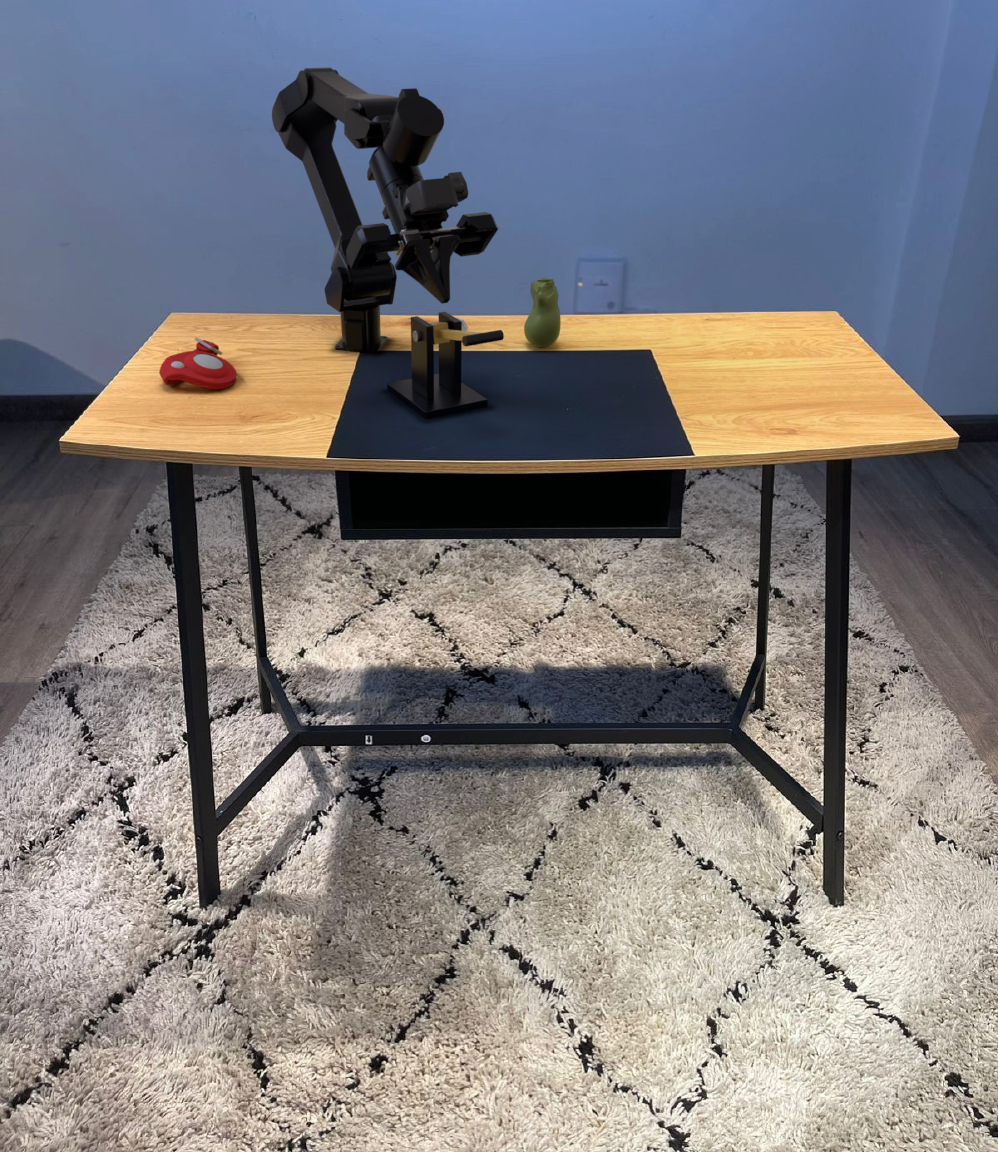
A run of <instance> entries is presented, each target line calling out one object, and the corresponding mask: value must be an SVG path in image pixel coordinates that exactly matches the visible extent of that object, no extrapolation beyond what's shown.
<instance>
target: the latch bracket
mask: <svg viewBox="0 0 998 1152" xmlns="http://www.w3.org/2000/svg"><path fill="white" fill-rule="evenodd" d="M457 318H458V317H455V316H454V315H451V314H450V313H448V312H447V311H441V312H438V322H446V323H448V329H450V330H460V331H462V321H460V320H459V319H457ZM429 323H430V322H428V321H426V320H424V319H423V318H421V317H420V316H418V315H415V316H410V352H411V353H410V355H411V359H410V361H411V378H407V379H402V380H398V381H392V382H387V383H386V388H387V389H386V390H387V392H389V393H390V394H392V395H393V396H394V397H395V398H397V400H400V401H401V402H402V403H403V404H404V405H406V406H407V407H409V408H410V409H411V410H412V411H414V412H415V413H416V414H418V415H419V416H420V417H421V418H423V419H425V420H429V419H435V418H439V417H444V416H449V415H453V414H458V413H463V412H468V411H472V410H478V409H482V408H487V407H488V398H486V397H485V396H483V395H482V394H480V393H478V391H476V390H474V389H473V388H471V387H470V386H468V385H466V384H465V383H463V382H462V353H463V351H462V347H463V343H462V341H458V340H450V342H446V343H440V344H438V373H435V358H434V357H435V354H434V351H435V349H434V346H435V344H434V331H433V325H431V324H429Z"/></svg>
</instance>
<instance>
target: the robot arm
mask: <svg viewBox="0 0 998 1152" xmlns="http://www.w3.org/2000/svg"><path fill="white" fill-rule="evenodd" d="M271 120H272V125H273V128H274V131H275V132H276V133H278V135H279V138H280V140H281V143H282V144H283V146H284V148H285V150H287V151H288V152H289V153H291V154H292V155H293V156H295V157H296V158H297V159H298V160H299V161H301V162H302V164H303V168H304V170H305V173H306V175H307V178H308V180H309V184H310V186H311V188H312V191H313V194H314V196H315V199H316V201H317V204H318V207H319V210H320V212H321V215H322V217H323V220H324V223H325V226H326V228H327V231H328V233H329V236H330V238H331V241H332V244H333V248H334V252H333V257H332V260H331V264H330V271H331V274H330V276H329V278H328V280H327V282H326V285H325V286H324V295H325V300H326V304H327V305H328V306H329V307H331V308H332V309H334V310H335V311H337V312H338V313H339V315H340V329H341V339H340V340H339V341H338V342H337V343H336V344H335V346H334V350H335V351H341V352H352V353H353V352H354V353H355V352H356V353H364V354H365V353H366V354H378V353H379V352H380V351H381V350H382V349H383V347H384V346H385V344H386V343H387V341H389V337H388V336H386V335H382V332H381V331H382V330H381V308H380V307H381V306H386V305H389V306H390V305H393V304H394V299H395V292H396V286H397V285H396V284H397V279H398V276H397V271H402V272H404V274H406V275H408V276H409V277H411V279H413V280H415V281H416V282H417V283H419V284H420V285H421V286H422V287H423V288H424V289H425V291H427V292H429V293H430V294H431V296H432V297H434V298H435V299H436V300H437V301H438V302H439V303H441V304H447V303H449V301H451V275H450V274H451V272H450V271H451V270H450V269H451V268H450V267H451V257H452V255H453V254H456V255H458V256H459V257H470V256H476V255H477V256H478V255H480V254H482V253H484V252H485V251H486V249H487V247H488V246H489V244H490V242H491V241H492V239H493V238H494V237H495V235H496V234H497V232H498V230H499V227H498V224H497V221H496V219H495V218H494V216H493V215H492V213H490V212H487V211H484V212H482V211H481V212H472V213H465V214H462V215H461V217H460V219H459V220H458V222H457V223H456V226H449V227H443V225H442V223H444V222H447V220H448V219H449V217H450V216H449V215H450V214H449V212H448V210H450V209H452V208H457V207H458V206H459V203H461V202H463V201H465V200H466V199H468V197H469V188H468V184H467V181H466V179H465V177H464V175H463V173H462V171H453V172H449V173H448V174H446V175H444V176H443V177H441V178H440V177H439V178H428V179H424V177H423V174H422V171H421V168H420V165H422V164H424V163H426V161H427V160H428V158H429V157H430V154H431V153H432V151H433V149H434V147H435V144H436V142H437V140H438V139H439V136H440V134H441V133H442V131H443V128H444V125H445V117H444V114H443V111H442V110H441V108H439V107H438V106H437V105H436V104H435V103H434V102H433V101H432V100H430V99H429V98H427V97H425V96H422V95H420V93H419V91H418V88H417V87H413V88H401V89H400V91H399V93H398V96H394V95H389V94H375V93H369V92H368V91H365V90H363V89H362V88H361V87H359V86H357V85H356V84H354V83H353V82H352V81H350V80H348V79H347V78H345V77H343V76H342V75H340V73H339V72H338V70H337V69H335V68H332V67H329V66H328V67H304V69H303V70H300V71H299V72H298V74H297V76H296V78H295V80H293V81H292V82H291V83H289V84H288V85H287V86H286V87H284V88H283V89H281V90H280V91H279V92H278V93H277V96H276V98H275V101H274V103H273V106H272V109H271ZM338 121H339V122H341V123H342V124H343V131H344V132H343V134H344V136H345V138H347V139H348V141H349V143H351V144H352V146H353V147H354V148H356V150H357V149H358V150H362V149H363V150H365V149H374V151H373V152H372V154H371V156H370V159H369V161H368V165H369V166H368V168H367V173H366V179H367V180H368V182H372V181H375V184H376V187H377V189H378V191H379V195H380V197H381V199H382V203H383V205H384V207H383V209H382V211H381V214H382V216H383V219H384V220H389V221H390V224H391V226H392V229H393V232H394V233H392V232H391V229H390V226H389V225H388V224H386V223H384V222H381V223H373V224H372V223H371V224H363V222H362V220H361V217H360V214H359V212H358V209H357V206H356V204H355V202H354V199H353V196H352V194H351V190H350V189H349V186H348V183H347V180H346V177H345V175H344V173H343V170H342V167H341V165H340V161H339V159H338V157H337V155H336V152H335V149H334V146H333V142H334V138H335V134H336V130H337V122H338ZM392 252H394V254H395V256H396V259H397V260H396V262H395V263H392V257H391V256H390V254H389V253H392Z"/></svg>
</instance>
